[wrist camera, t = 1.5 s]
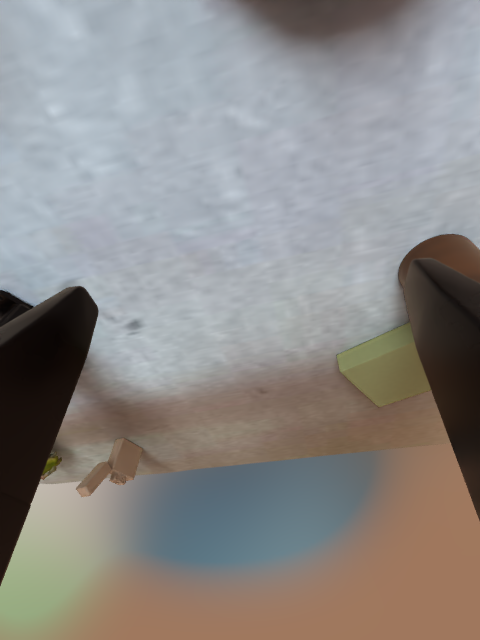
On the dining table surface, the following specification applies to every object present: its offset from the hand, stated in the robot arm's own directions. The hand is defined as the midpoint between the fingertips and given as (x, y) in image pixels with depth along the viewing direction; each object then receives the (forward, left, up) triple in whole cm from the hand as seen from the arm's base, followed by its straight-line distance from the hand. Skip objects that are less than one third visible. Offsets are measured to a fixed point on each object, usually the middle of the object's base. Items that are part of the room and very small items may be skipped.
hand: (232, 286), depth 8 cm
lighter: (-39, -16, -12) cm, 44 cm away
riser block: (-1, -22, -12) cm, 25 cm away
